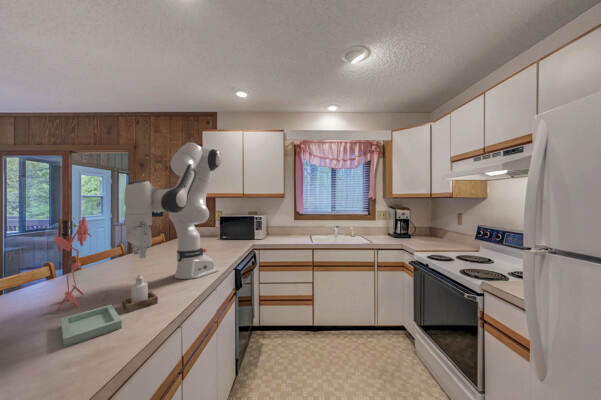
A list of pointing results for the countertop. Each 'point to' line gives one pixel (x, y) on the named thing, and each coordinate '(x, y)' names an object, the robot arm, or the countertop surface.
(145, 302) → the walnut rectangular frame
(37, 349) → the countertop surface
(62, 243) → the red leafy plant shape
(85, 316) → the tray
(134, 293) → the eye dropper bottle
